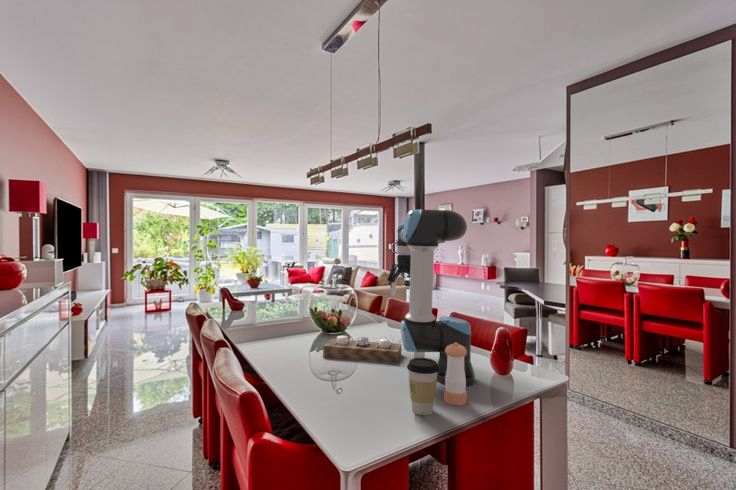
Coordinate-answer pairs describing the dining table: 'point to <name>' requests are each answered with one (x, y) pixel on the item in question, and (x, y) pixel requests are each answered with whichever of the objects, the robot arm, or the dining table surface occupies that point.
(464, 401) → the salt shaker
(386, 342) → the right knob
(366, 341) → the pot dial
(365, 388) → the dining table surface
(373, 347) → the block
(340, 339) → the left knob
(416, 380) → the coffee cup
